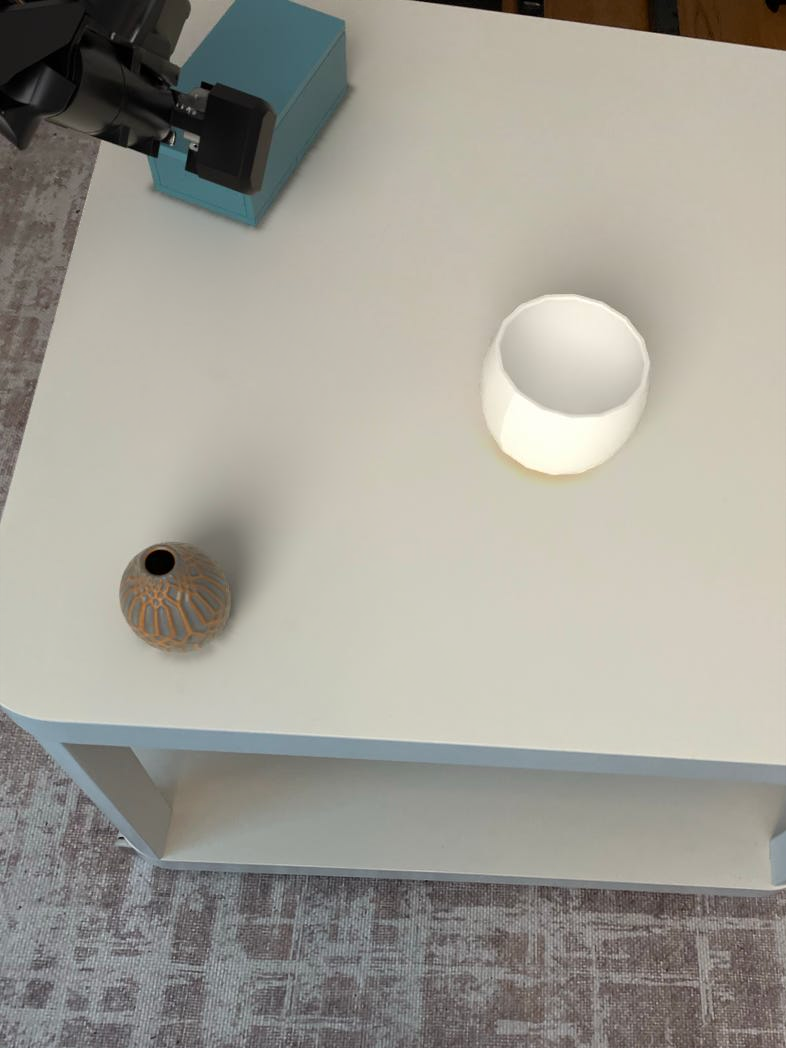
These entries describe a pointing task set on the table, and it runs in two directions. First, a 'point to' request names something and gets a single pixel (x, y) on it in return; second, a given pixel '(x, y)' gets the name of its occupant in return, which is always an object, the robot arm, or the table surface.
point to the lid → (259, 55)
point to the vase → (175, 597)
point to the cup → (564, 383)
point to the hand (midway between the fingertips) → (196, 130)
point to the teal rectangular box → (283, 154)
